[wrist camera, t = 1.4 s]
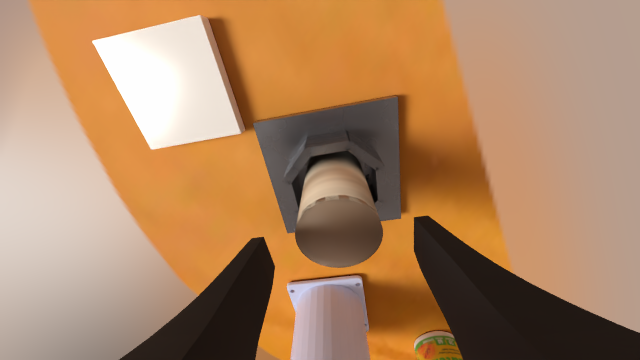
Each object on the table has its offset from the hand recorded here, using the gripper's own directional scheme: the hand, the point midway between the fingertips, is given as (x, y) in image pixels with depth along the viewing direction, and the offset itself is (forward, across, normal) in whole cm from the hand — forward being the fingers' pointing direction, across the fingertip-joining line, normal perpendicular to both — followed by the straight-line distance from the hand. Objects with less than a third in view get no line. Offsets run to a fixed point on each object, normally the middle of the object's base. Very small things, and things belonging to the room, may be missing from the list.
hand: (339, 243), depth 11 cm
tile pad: (+8, +10, -8) cm, 15 cm away
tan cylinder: (+8, 0, 0) cm, 8 cm away
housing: (+8, 0, 0) cm, 8 cm away
